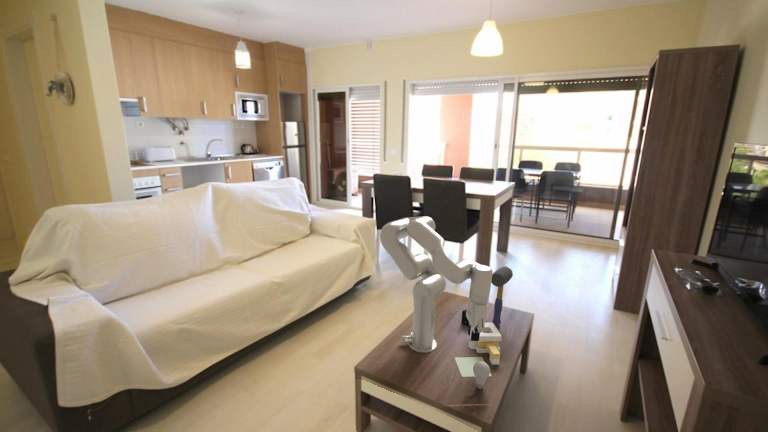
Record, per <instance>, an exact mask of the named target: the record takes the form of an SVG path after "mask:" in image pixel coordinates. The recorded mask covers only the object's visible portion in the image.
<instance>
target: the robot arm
mask: <svg viewBox="0 0 768 432" xmlns="http://www.w3.org/2000/svg"><path fill="white" fill-rule="evenodd" d="M436 228H437V227H436V223H435V221H434V219H433V218H432V217H430V216H428V215H427V216H426V215H424V216H413V217H412V216H411V217H410V216H409V217H403V218H400V219H396V220H393V221H389V222H387V223H386V224H384V225H383V226H382V228H381V229H380V233H379V240H380V243H381V245H382V248H384V250H385V251H386V252H387V254H388V255H389V256H390V257H391V259H392V261H394V263H395V265H396V266H397V268H398V269H399V271H400V272H401V274H402V275H403V276H404V277H405V279H407V280H408V281H414V280H417V279H418V278H420V277H421V279H419V280H418V281H417V282H415V284H414V285H413V286H412V287H413V288H412V290H411V291H412V298H413V299H412V300H413V311H412V313H413V314H412V315H413V316H412V317H413V318H412V332H410V334H408V335H401V340H402V341H404V342H405V343H406V344H407V343H408V347H409V348H410V349H411V350H412V351H414V352H417V353H424V354H425V353H426V354H427V353H431V352H434V351H435V350H436V349H437V346H438V345H437V340H435V337H434V335H435V323H436V306H435V302H434V300H435V298H437V297H438V296H439V295H441V294H443V292H445V291H446V288H447V281H446V280H448V281H449V282H450V283H452V284H456V285H459V284H463V283H464V282H465V281H467V280H470V286H469V287H470V288H469V293H468V300H467V305H466V309H467V310H466V309H465V310H466V317H467V319H468V321H469V326H468V332H467V336H469V337H470V330H471V326H472V327H473V331H472V334H471V341H479V337H480V333H482V328H483V327H484V326H485V323H486V321H487V319H486V318H487V310H488V309H487V305H488V303H489V300H490V292H491V288H492V287H491V286H492V283H491V281H492V274H493V273H494V272H493V269H492V268H491V267H490V266H488V265H484V264H480V263H478V262H476V261H474V260H472V259H470V258H462V259H461V260H459V261H456V262H453V260H451V259H450V258H449V257H448V256H447V254H446V252H445V251H444V250H445V249H444V246H445V242H446V241H445V239H444V237H442V236H441V235H440V234H439V233H437V232H436V231H435V230H436ZM409 236H410V238H411V239H413V240H414V241H415V242H416V243H417V244H418V245H419V246H420V247H422V248H423V249H424V250H425V251H426V252H427V253H428V254H429V255H430V257H431V258H430V257H429V256H428V255H426V254H424V253H418V254H415V255H414V254H413V252H411V250H410V248H409V247H408V246H407V245H406V244H405V243H403V242H401V241H400V240H401V239H404V238H407V237H409ZM476 327H478V329H475V328H476Z"/></svg>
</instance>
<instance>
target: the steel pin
mask: <svg viewBox="0 0 768 432" xmlns="http://www.w3.org/2000/svg"><path fill="white" fill-rule="evenodd" d="M475 329H478V327H476V328H475ZM472 331H473V327H472V326H471V330H470V336H469V338H468V348H469V349H471V350H476V349H475V348H476V343H477V341H471V334H472Z"/></svg>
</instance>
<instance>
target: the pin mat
mask: <svg viewBox="0 0 768 432" xmlns="http://www.w3.org/2000/svg"><path fill="white" fill-rule="evenodd" d="M454 360H455V363H456V365H457V367H458V370H459V373H460V375H461V377H462V378H466V377H469V378H470V377H471V378H472V377H475V375H474V372H473V366H474V364H475V363H476V362H478V361H483V362H485V360H484V358H483V356H473V357H472V356H470V357H469V356H467V357H465V356H464V357H457V356H456V357H454ZM488 377H492V373H491V372H490V374H489V376H488ZM475 378H476V377H475Z"/></svg>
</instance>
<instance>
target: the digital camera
mask: <svg viewBox="0 0 768 432" xmlns="http://www.w3.org/2000/svg"><path fill="white" fill-rule="evenodd" d="M466 310H467V308H466V309H464V310H462V311H461V321H460V322H461V323H460V324H462V325H464V326H465V327H467V328H469V321H468V319H467V317H466Z"/></svg>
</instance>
